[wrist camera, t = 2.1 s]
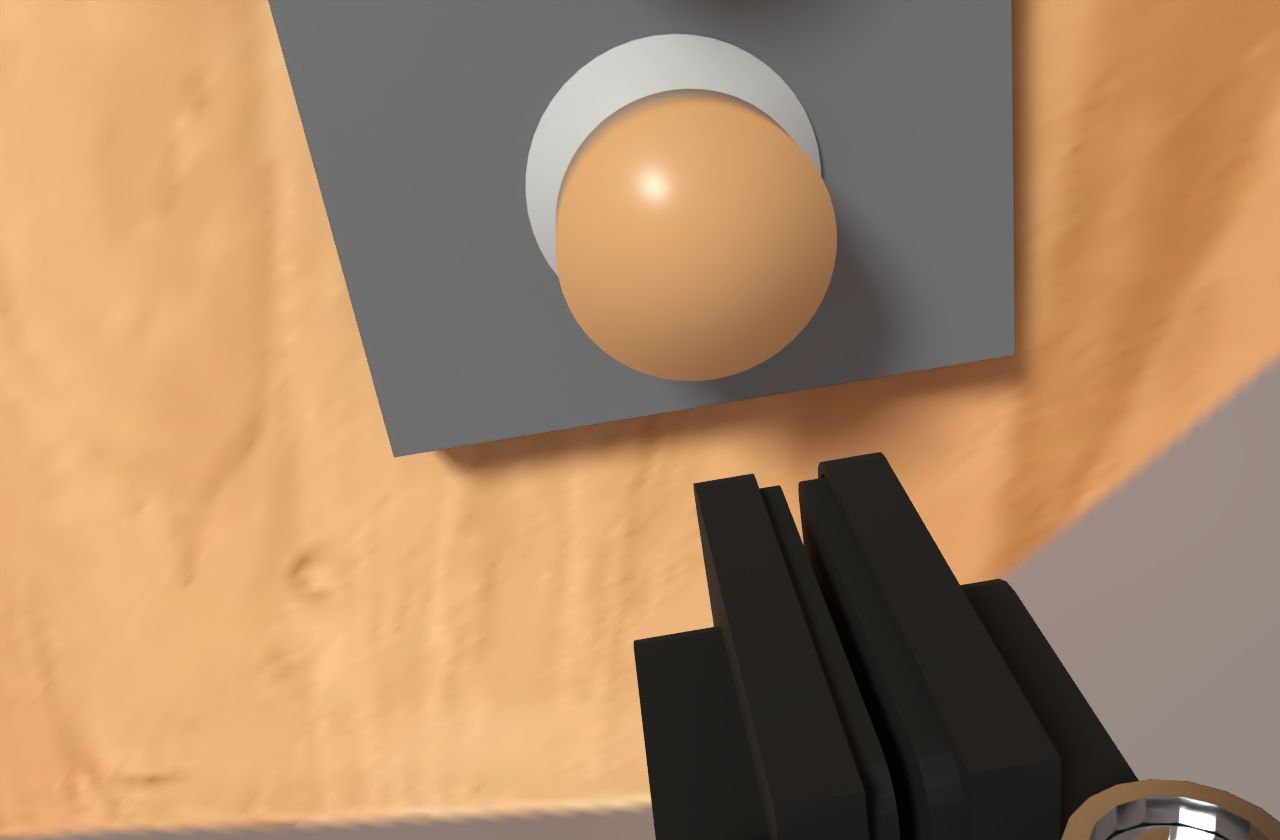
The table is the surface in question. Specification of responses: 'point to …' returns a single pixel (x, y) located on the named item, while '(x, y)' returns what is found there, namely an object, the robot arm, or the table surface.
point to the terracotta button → (693, 236)
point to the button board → (562, 119)
